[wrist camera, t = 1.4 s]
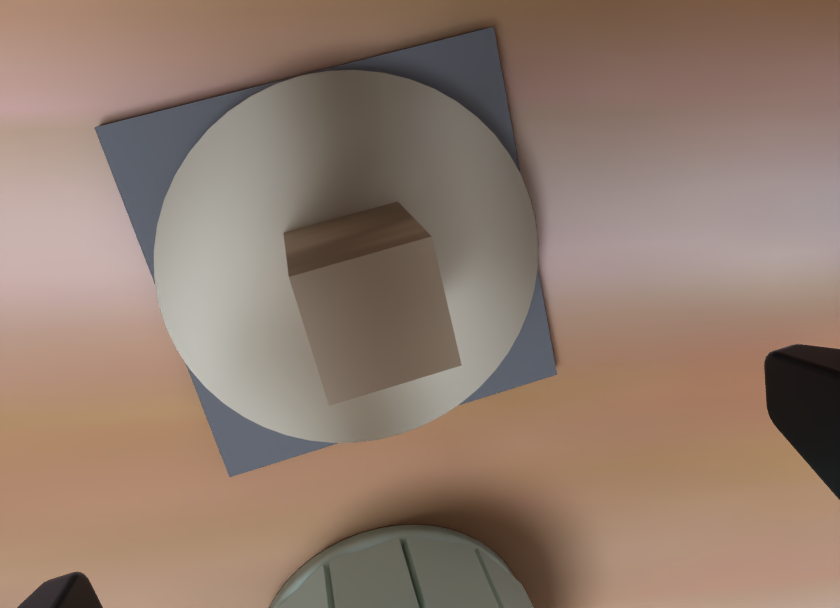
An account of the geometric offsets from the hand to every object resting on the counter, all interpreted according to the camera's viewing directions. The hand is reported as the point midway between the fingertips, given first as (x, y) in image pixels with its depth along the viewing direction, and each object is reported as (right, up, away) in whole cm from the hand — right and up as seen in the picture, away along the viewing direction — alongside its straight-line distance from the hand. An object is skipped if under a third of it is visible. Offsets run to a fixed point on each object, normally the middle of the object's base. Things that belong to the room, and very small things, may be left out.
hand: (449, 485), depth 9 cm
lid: (-2, +3, +10) cm, 11 cm away
